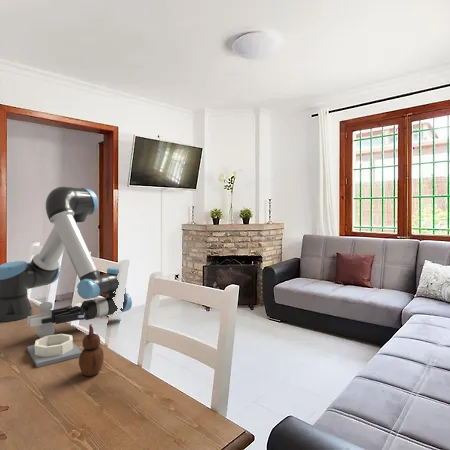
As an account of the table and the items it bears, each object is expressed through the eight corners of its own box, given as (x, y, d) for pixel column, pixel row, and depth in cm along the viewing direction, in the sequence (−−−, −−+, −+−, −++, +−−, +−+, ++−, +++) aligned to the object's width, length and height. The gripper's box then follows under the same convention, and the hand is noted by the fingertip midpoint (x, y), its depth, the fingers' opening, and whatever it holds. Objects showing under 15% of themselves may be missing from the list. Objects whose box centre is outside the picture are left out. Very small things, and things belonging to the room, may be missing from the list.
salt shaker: (49, 341, 122) (49, 305, 121) (33, 340, 122) (33, 305, 121) (58, 335, 127) (57, 300, 127) (43, 334, 128) (42, 300, 127)
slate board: (27, 349, 114) (27, 346, 114) (68, 340, 122) (68, 337, 122) (37, 367, 102) (36, 363, 101) (82, 355, 110) (82, 352, 110)
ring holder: (54, 340, 119) (54, 332, 119) (80, 345, 115) (79, 336, 115) (27, 353, 108) (26, 344, 108) (54, 358, 105) (53, 349, 105)
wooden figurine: (93, 380, 95) (93, 326, 94) (75, 377, 96) (74, 325, 95) (107, 368, 101) (106, 319, 100) (89, 366, 102) (89, 317, 102)
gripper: (103, 322, 131) (36, 338, 115) (85, 313, 143) (22, 326, 126) (103, 303, 131) (36, 316, 115) (85, 295, 142) (22, 306, 126)
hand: (29, 321), depth 120 cm, fingers closed on salt shaker, 3 cm apart
